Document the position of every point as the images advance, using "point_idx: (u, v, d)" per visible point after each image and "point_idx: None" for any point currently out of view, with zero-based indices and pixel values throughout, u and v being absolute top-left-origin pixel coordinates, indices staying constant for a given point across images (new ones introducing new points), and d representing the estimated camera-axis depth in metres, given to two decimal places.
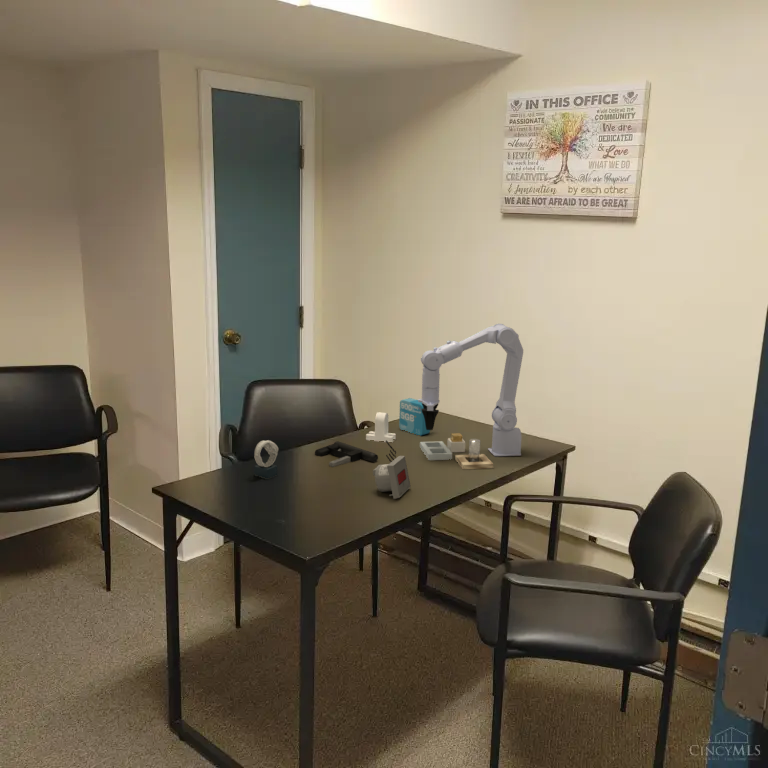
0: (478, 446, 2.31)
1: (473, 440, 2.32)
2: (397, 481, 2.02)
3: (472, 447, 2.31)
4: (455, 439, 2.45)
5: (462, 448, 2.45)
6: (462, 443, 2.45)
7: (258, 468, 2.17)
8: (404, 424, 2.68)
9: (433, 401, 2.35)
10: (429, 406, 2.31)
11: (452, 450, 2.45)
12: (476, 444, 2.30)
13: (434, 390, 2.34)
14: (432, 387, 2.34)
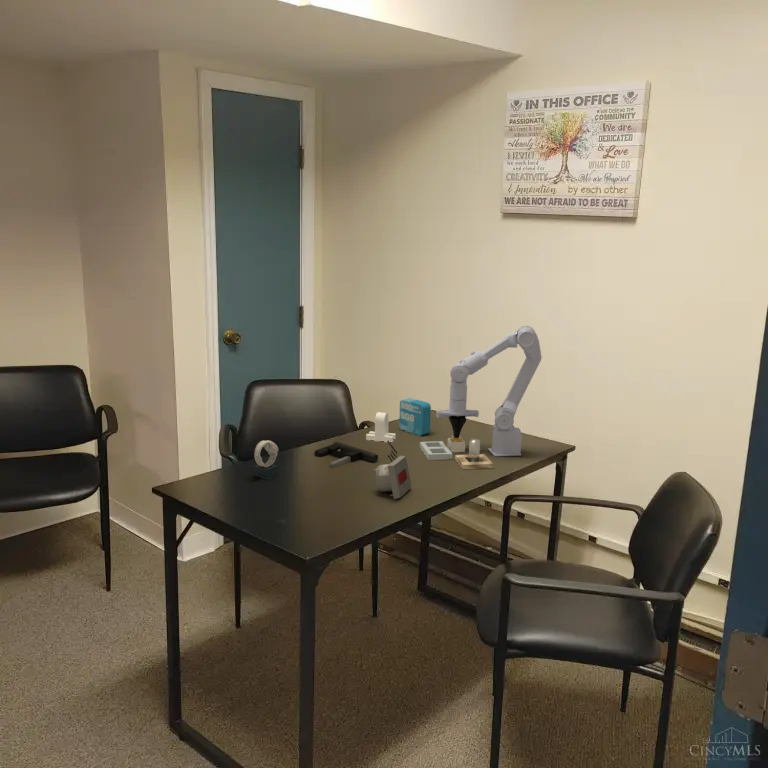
0: (478, 446, 2.31)
1: (473, 440, 2.32)
2: (397, 481, 2.02)
3: (472, 447, 2.31)
4: (455, 441, 2.45)
5: (462, 448, 2.45)
6: (462, 443, 2.45)
7: (258, 468, 2.17)
8: (404, 424, 2.68)
9: (450, 411, 2.43)
10: (436, 412, 2.44)
11: (452, 450, 2.45)
12: (476, 444, 2.30)
13: (451, 401, 2.42)
14: (457, 399, 2.41)
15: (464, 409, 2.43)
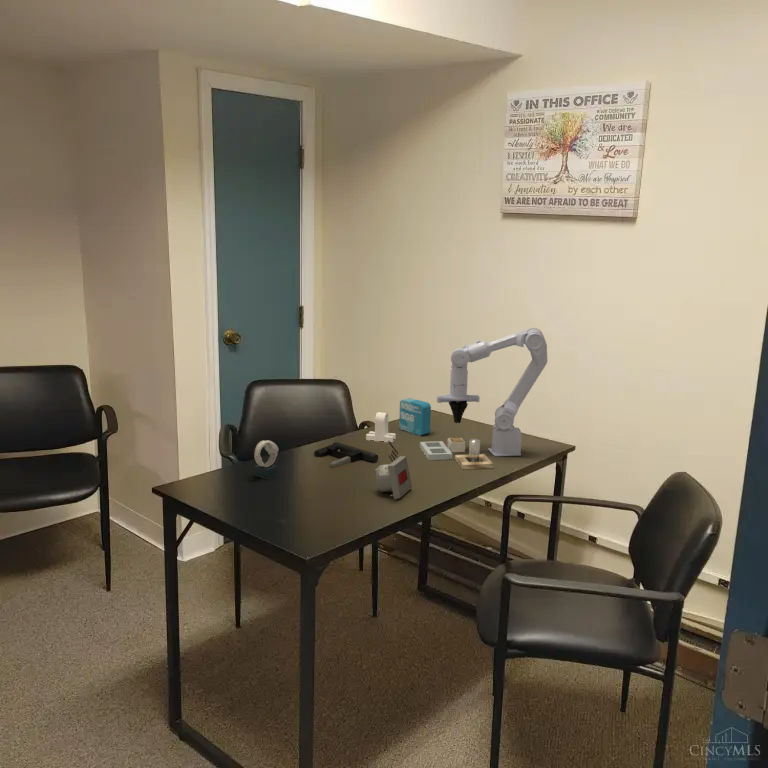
0: (478, 446, 2.31)
1: (473, 440, 2.32)
2: (398, 481, 2.02)
3: (472, 447, 2.31)
4: None
5: (462, 448, 2.45)
6: (462, 443, 2.45)
7: (258, 468, 2.17)
8: (404, 424, 2.68)
9: (451, 396, 2.42)
10: (437, 397, 2.43)
11: (452, 450, 2.45)
12: (476, 444, 2.30)
13: (452, 386, 2.41)
14: (458, 384, 2.40)
15: (465, 394, 2.41)
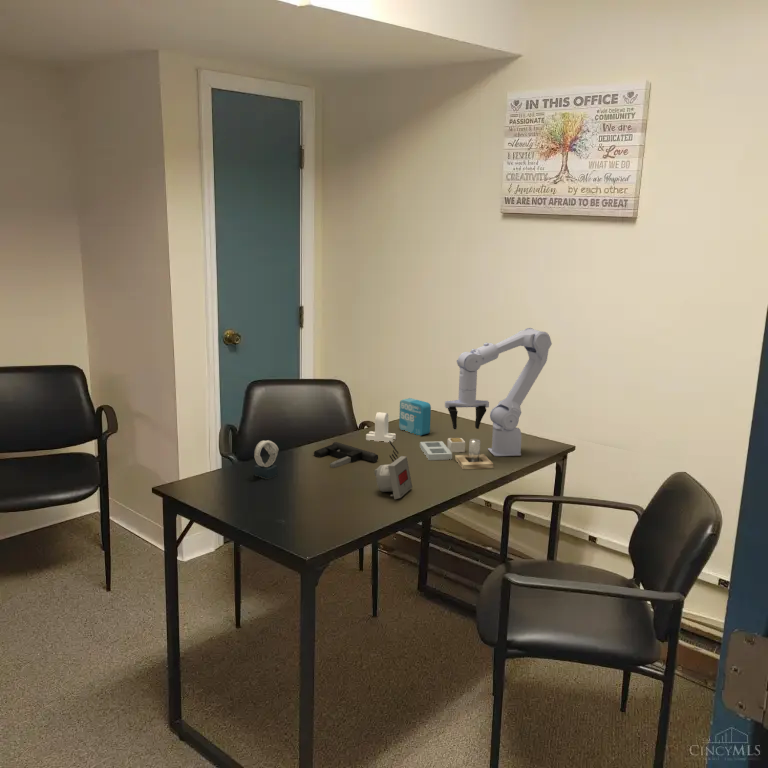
0: (478, 446, 2.31)
1: (473, 440, 2.32)
2: (398, 481, 2.01)
3: (472, 447, 2.31)
4: None
5: (462, 448, 2.45)
6: (462, 443, 2.45)
7: (258, 468, 2.17)
8: (404, 424, 2.68)
9: (459, 402, 2.35)
10: (445, 402, 2.36)
11: (452, 450, 2.45)
12: (476, 444, 2.30)
13: (460, 391, 2.34)
14: (471, 389, 2.33)
15: (474, 399, 2.34)
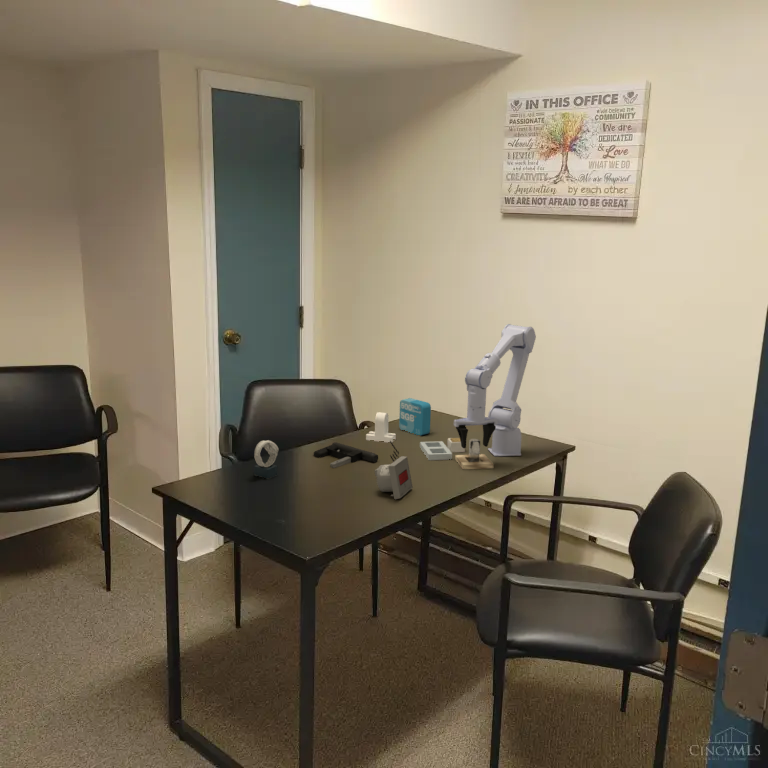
0: (478, 446, 2.31)
1: (473, 440, 2.32)
2: (398, 481, 2.01)
3: (472, 447, 2.31)
4: None
5: (462, 448, 2.45)
6: None
7: (258, 468, 2.17)
8: (404, 424, 2.68)
9: (469, 420, 2.28)
10: (454, 421, 2.28)
11: (452, 450, 2.45)
12: (476, 444, 2.30)
13: (470, 409, 2.27)
14: (483, 406, 2.27)
15: (483, 417, 2.28)
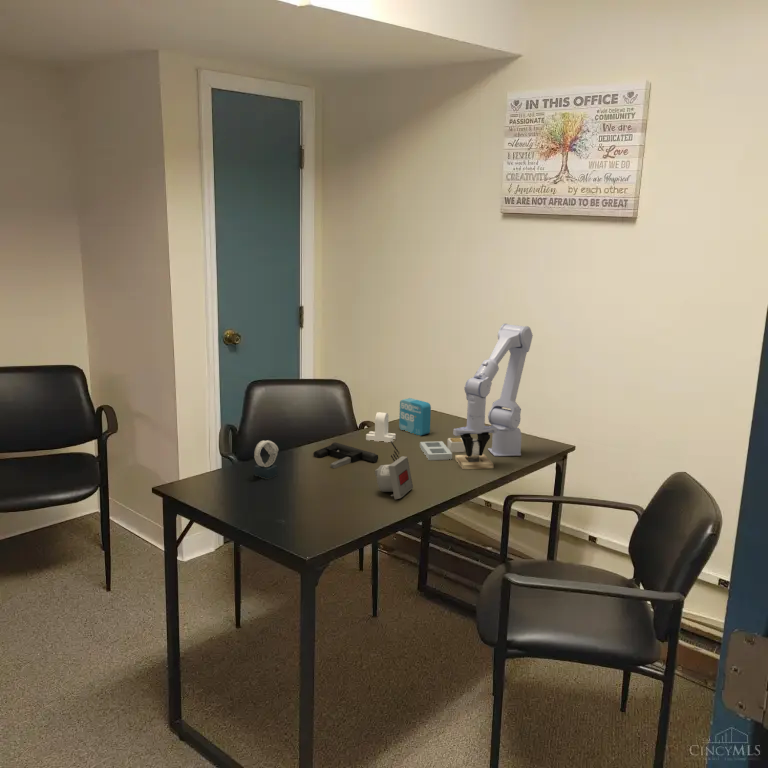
0: (478, 446, 2.31)
1: (473, 440, 2.32)
2: (398, 481, 2.01)
3: (472, 447, 2.31)
4: None
5: (462, 448, 2.45)
6: (462, 443, 2.45)
7: (258, 468, 2.17)
8: (404, 424, 2.68)
9: (469, 429, 2.29)
10: (454, 430, 2.29)
11: (452, 450, 2.45)
12: (476, 444, 2.30)
13: (470, 418, 2.28)
14: (483, 415, 2.28)
15: (483, 426, 2.29)
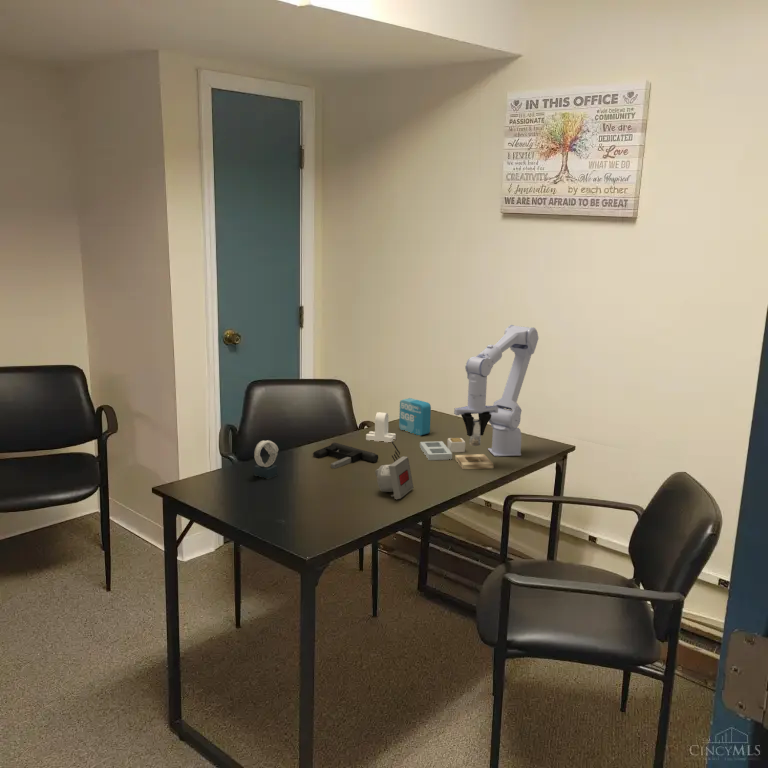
0: (479, 426, 2.29)
1: (474, 420, 2.30)
2: (398, 481, 2.01)
3: (473, 427, 2.29)
4: None
5: (462, 448, 2.45)
6: (462, 443, 2.45)
7: (258, 468, 2.17)
8: (404, 424, 2.68)
9: (470, 408, 2.28)
10: (455, 409, 2.28)
11: (452, 450, 2.45)
12: (477, 424, 2.29)
13: (471, 397, 2.27)
14: (484, 394, 2.26)
15: (484, 405, 2.28)
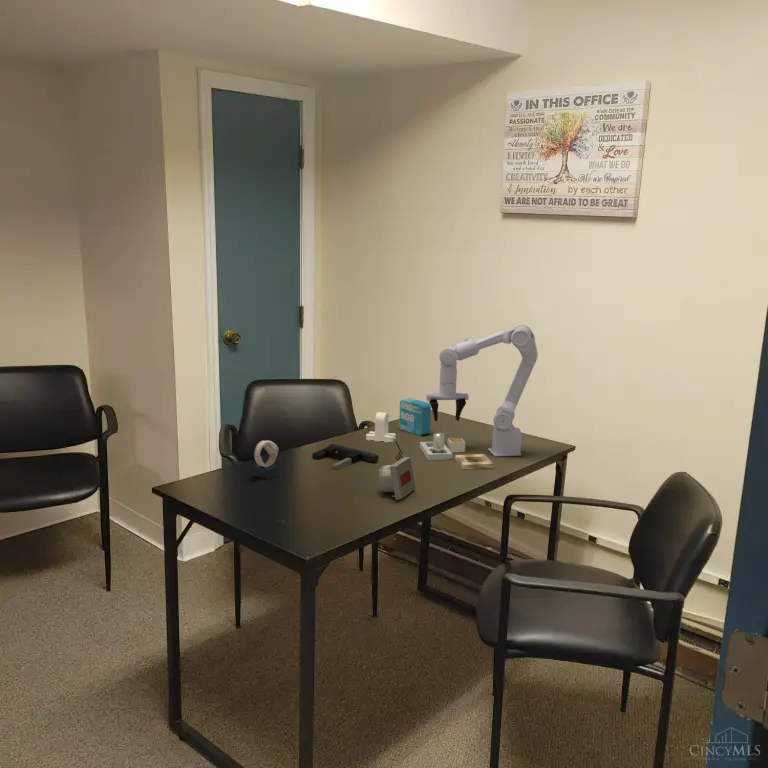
0: (442, 440, 2.37)
1: (437, 434, 2.38)
2: (399, 482, 2.01)
3: (436, 440, 2.37)
4: None
5: (462, 448, 2.45)
6: (462, 443, 2.45)
7: (258, 468, 2.17)
8: (404, 424, 2.68)
9: (440, 394, 2.44)
10: (426, 395, 2.45)
11: (452, 450, 2.45)
12: (440, 438, 2.37)
13: (441, 384, 2.43)
14: (446, 382, 2.42)
15: (454, 392, 2.44)
